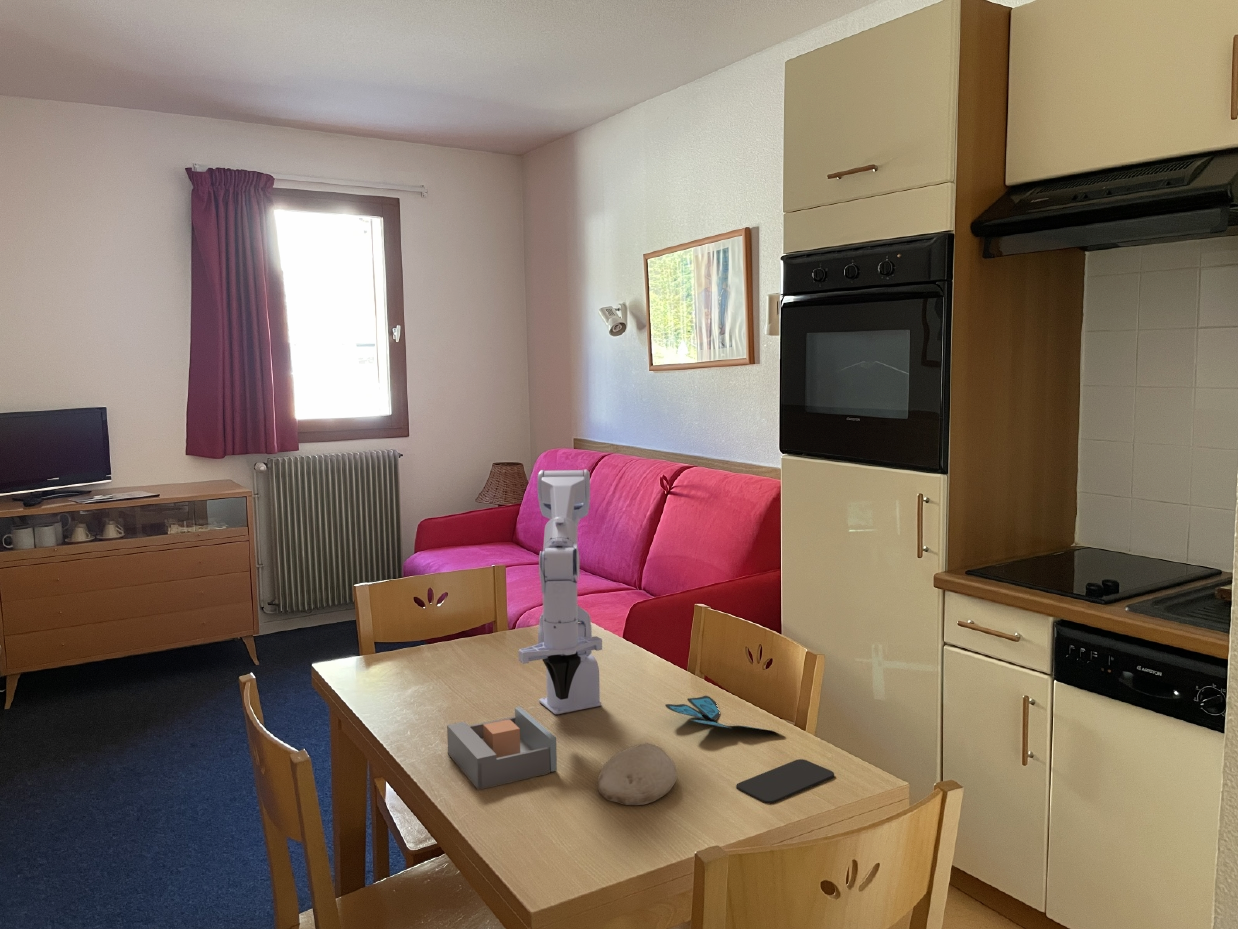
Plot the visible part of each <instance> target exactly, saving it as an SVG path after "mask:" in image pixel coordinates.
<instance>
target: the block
mask: <svg viewBox="0 0 1238 929" xmlns="http://www.w3.org/2000/svg"><path fill="white" fill-rule="evenodd" d="M483 738H484V742H485V743H486V744H487V745H488V746H489V747H490V748H491V749H492V751H493V752H494V753H495V754H496V756H497V758H499V757H504V756H508V755H513V754H518V753H520V728H519V727H518V726H516V725H515V724H514V723H513V722H512V721H511V720H510V719H508V720H503V721H498V722H493V723H488V724H483Z"/></svg>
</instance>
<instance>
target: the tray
mask: <svg viewBox="0 0 1238 929" xmlns="http://www.w3.org/2000/svg"><path fill="white" fill-rule="evenodd" d="M514 717H515V725H516V726H518V727H519V728H520V753H522V752H527V751H532V750H536V749H541V748H545V747H548V748H549V754H550V772H555V771H558V770H557V769H558V767H557V766H558V763H557V759H558V758H557V755H558V754H557V752H558V751H557V737H556V736H555V735H554V734H553V733H552V732H551V731H549V730H548V729H547V728H546V727H544V726H543V724H541V723H540V722H539V721H537V719H535V718H534V717H533V716H532V715H530V714H529V713H528V712H527V711H526V710H525V709H523V708H522V707H521V706H518V707H517V706H516V707H515V708H514ZM481 739H482V740H483V741H484V738H481Z"/></svg>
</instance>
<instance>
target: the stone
mask: <svg viewBox="0 0 1238 929" xmlns="http://www.w3.org/2000/svg"><path fill="white" fill-rule="evenodd" d="M677 777H678V774H677V769H676V765H675V762H674V760H672V758H671V756H670V755H669V754H668V753H667V752H666V751H665V750H664V749H663V748H662V747H660V746H659V745H656V744H653V743H649V742H645V743H640V744H638V745H637V744H636V745H634V746H631V747H628V748H626V749H624V750H623V749H622V750H621V751H619V752H617V753H616V754H615V755H613V756H611V757H610V758H609V759H608V760H607V761H606V762H605V763H604V764H603V765H602V767H601V770H600V772H599V775H598V778H597V788H598V792H599V793H600V794H601V796H602V797H603V798H604V799H606V800H607V801H611V802H613V803H618V804H622V805H625V806H644V805H647V804H650V803H651V804H652V803H654V802H655V801H657V800H659V799H661V797H664V796H665V795H666V794H668V793H669V792H670V791H671V789H672V788H673V787H674V785H675V783H676V781H677Z"/></svg>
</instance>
